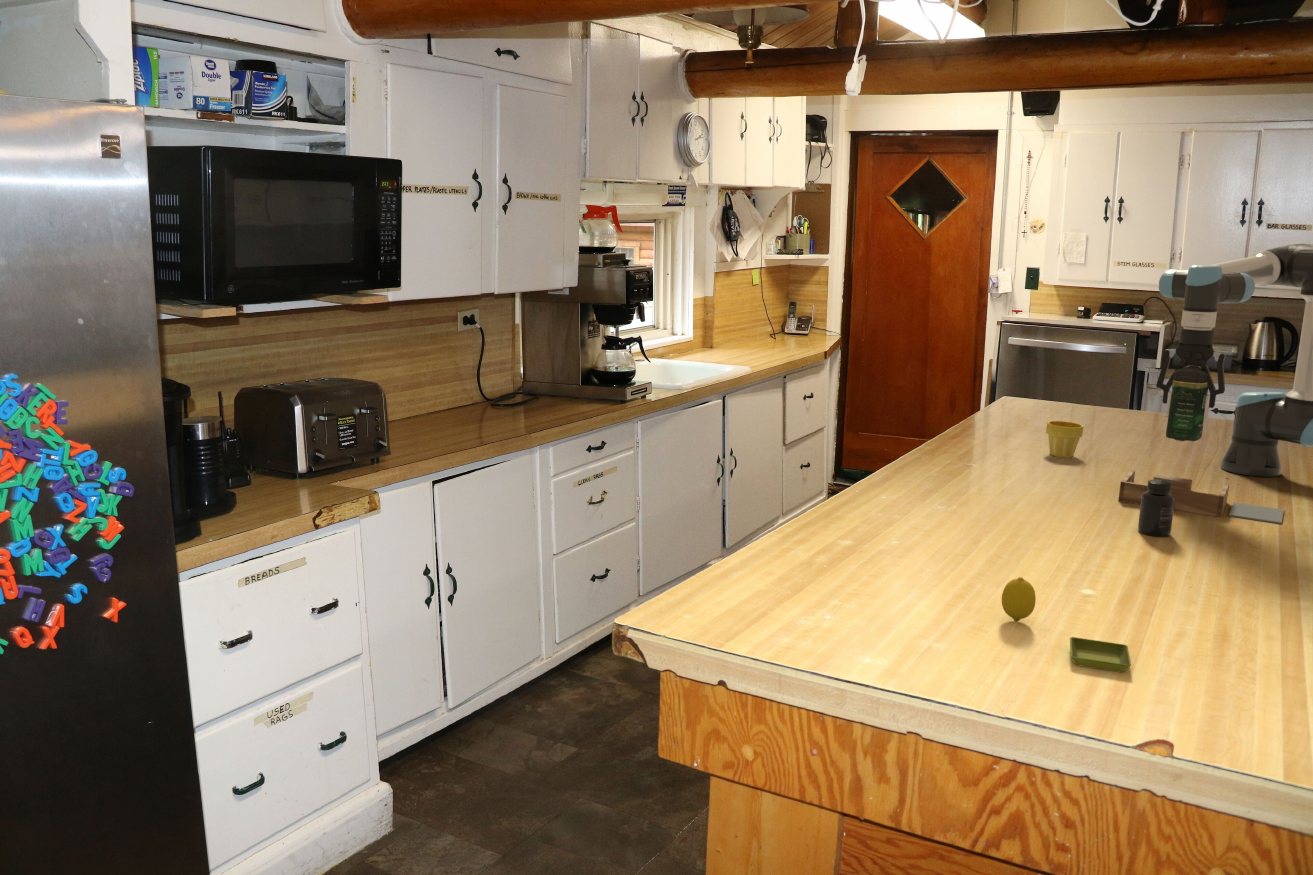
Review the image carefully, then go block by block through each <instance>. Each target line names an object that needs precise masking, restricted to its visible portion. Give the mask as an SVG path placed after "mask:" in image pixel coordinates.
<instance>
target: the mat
mask: <svg viewBox="0 0 1313 875" xmlns="http://www.w3.org/2000/svg"><path fill="white" fill-rule="evenodd" d="M1284 512H1285V510H1284V509H1283V508H1276V507H1269V506H1262V505H1255V504H1248V503H1241V502H1235V501H1233V503H1232V505H1231V509H1230V510H1229V514H1228V517H1233V518H1239V519H1246V520H1252V521H1258V522H1259V521H1260V522H1264V523H1265V522H1266V523H1271V524H1278V525H1282V524H1283V518H1284Z"/></svg>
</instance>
